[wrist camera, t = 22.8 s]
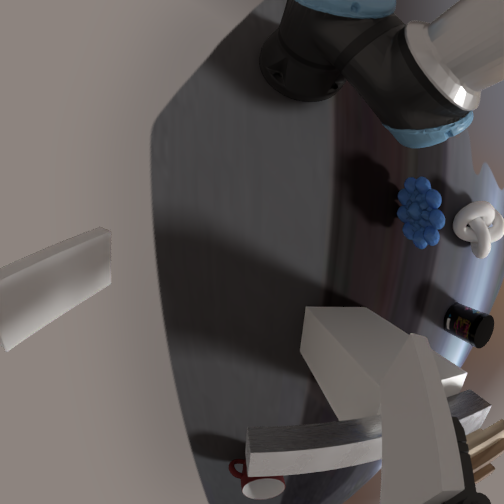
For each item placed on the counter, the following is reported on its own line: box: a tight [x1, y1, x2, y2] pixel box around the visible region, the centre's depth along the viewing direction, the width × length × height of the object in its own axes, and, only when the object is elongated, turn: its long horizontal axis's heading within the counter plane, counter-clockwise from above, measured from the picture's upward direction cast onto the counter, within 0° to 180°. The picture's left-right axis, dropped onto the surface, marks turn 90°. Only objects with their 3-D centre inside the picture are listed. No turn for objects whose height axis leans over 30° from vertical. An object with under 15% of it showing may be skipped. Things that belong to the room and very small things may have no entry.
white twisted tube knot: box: [453, 201, 504, 259], centre depth 43 cm, size 11×12×9 cm
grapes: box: [397, 177, 445, 249], centre depth 39 cm, size 12×7×12 cm, turn 0°
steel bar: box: [245, 390, 491, 477], centre depth 18 cm, size 3×24×4 cm, turn 86°
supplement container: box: [444, 303, 494, 348], centre depth 44 cm, size 7×7×10 cm
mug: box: [229, 459, 285, 499], centre depth 43 cm, size 10×8×10 cm
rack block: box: [300, 306, 467, 421], centre depth 33 cm, size 8×11×26 cm
